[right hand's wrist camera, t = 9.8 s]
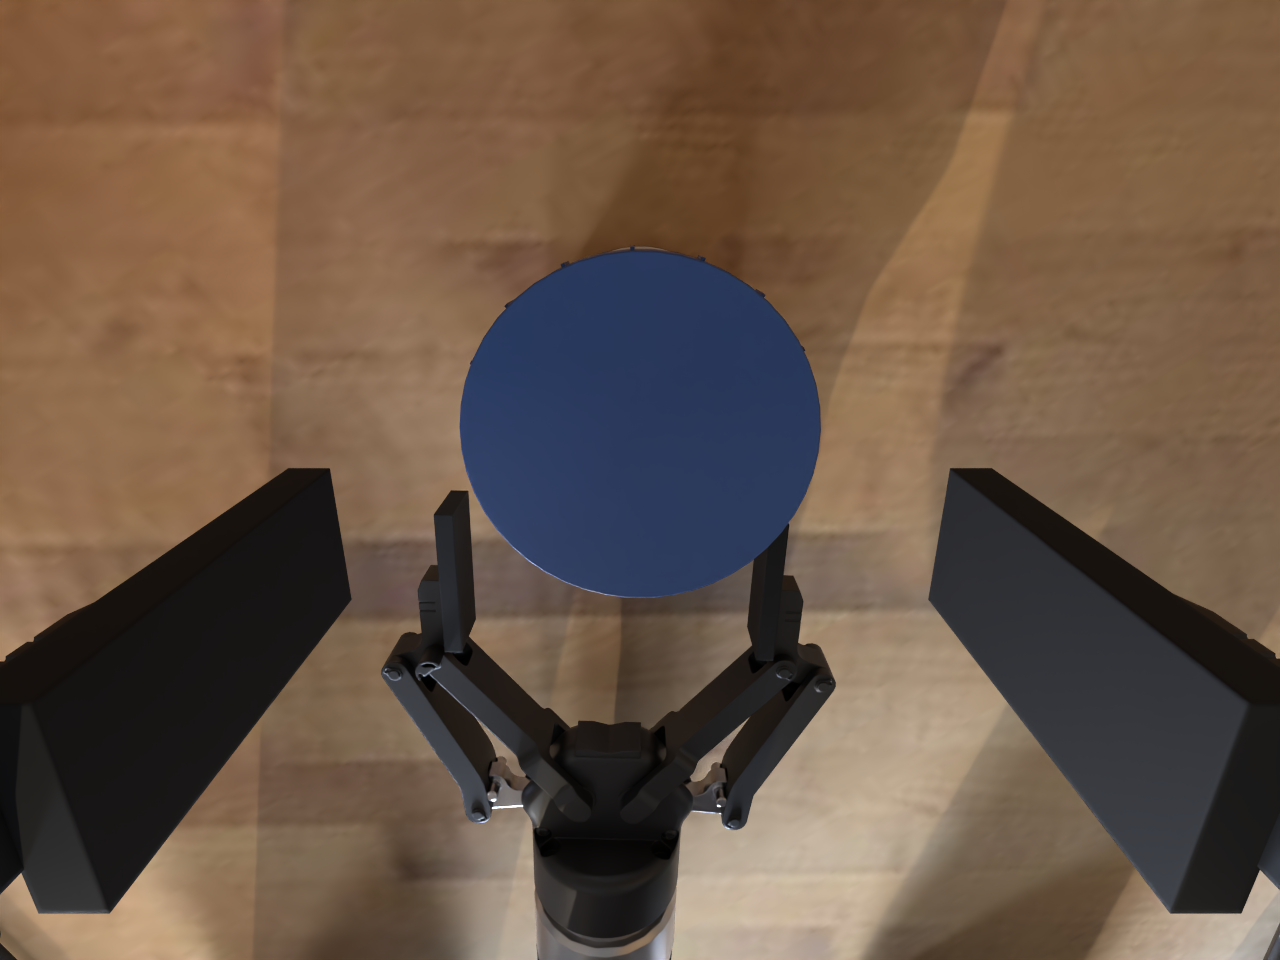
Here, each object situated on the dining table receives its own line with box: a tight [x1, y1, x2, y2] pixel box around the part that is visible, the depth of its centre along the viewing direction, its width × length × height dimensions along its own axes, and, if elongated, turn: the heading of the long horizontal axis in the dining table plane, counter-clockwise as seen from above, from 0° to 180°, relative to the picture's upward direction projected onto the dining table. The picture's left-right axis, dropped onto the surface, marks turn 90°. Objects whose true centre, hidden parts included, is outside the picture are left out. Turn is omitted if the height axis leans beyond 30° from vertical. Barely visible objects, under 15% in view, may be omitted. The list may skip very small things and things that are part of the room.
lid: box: [460, 245, 821, 598], centre depth 19 cm, size 10×10×2 cm
